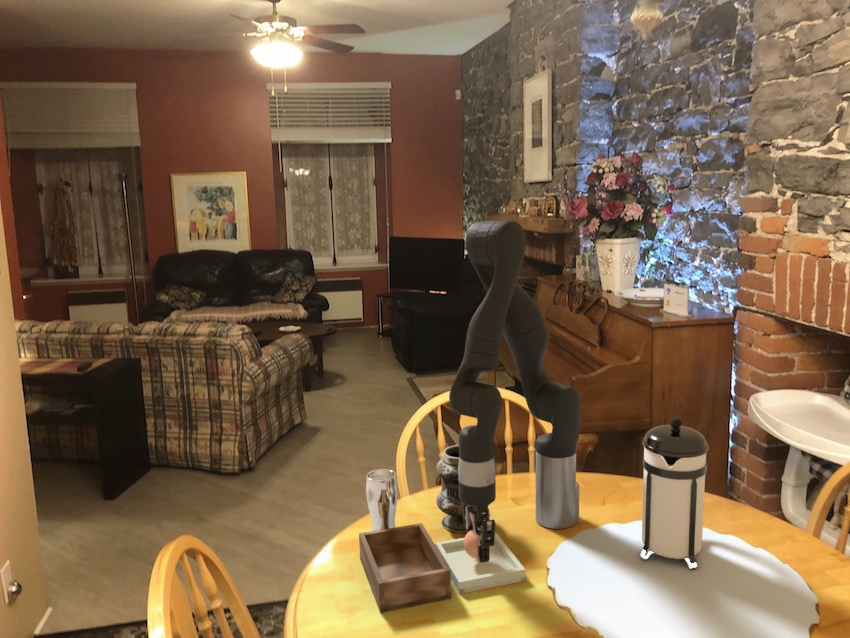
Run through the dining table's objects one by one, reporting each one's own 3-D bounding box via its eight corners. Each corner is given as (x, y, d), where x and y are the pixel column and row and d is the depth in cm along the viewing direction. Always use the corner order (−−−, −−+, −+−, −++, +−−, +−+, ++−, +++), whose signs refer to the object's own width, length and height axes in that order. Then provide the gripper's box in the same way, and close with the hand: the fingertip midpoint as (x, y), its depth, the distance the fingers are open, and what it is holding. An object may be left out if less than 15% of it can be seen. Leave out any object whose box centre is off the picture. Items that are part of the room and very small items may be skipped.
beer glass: (395, 545, 154) (392, 482, 152) (364, 543, 156) (361, 480, 153) (402, 530, 161) (399, 469, 158) (373, 528, 163) (370, 467, 160)
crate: (422, 548, 153) (422, 523, 152) (451, 598, 134) (450, 570, 133) (360, 559, 149) (358, 533, 148) (380, 612, 130) (378, 583, 129)
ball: (486, 547, 148) (486, 521, 147) (497, 561, 142) (496, 534, 141) (460, 552, 146) (459, 525, 145) (469, 566, 141) (468, 539, 140)
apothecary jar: (497, 529, 160) (496, 455, 157) (449, 540, 156) (447, 464, 152) (474, 507, 171) (473, 438, 168) (429, 517, 167) (427, 446, 163)
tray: (495, 542, 154) (495, 532, 154) (525, 580, 139) (525, 569, 139) (435, 553, 150) (435, 542, 150) (459, 593, 135) (458, 582, 135)
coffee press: (728, 564, 143) (736, 425, 137) (659, 577, 139) (664, 434, 133) (678, 525, 159) (683, 399, 153) (615, 536, 155) (618, 407, 150)
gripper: (507, 489, 135) (508, 568, 138) (481, 461, 149) (483, 534, 152) (471, 494, 133) (473, 574, 136) (448, 466, 147) (450, 540, 150)
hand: (478, 553), depth 144 cm, fingers closed on ball, 5 cm apart
